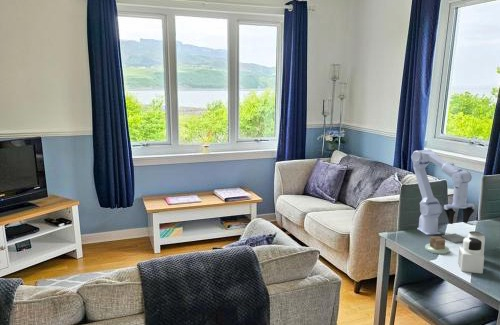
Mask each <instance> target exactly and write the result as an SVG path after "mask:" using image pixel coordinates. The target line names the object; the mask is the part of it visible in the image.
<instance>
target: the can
mask: <svg viewBox="0 0 500 325" xmlns="http://www.w3.org/2000/svg"><path fill="white" fill-rule="evenodd" d="M469 237H471V238H476V239H478V240H480V241H481V242H482V245H481V252H482V254H483V255H484V253H485V243H486V237H485V233H483V232H480V231H476V230H475V231H474V230H472V231H469V232H468V235H467V238H469ZM484 256H485V255H484Z"/></svg>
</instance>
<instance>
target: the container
mask: <svg viewBox="0 0 500 325" xmlns="http://www.w3.org/2000/svg"><path fill="white" fill-rule="evenodd" d="M481 245H482V242H481V241H480V240H478V239H476V238H471V237H469V238H468V237H465V239H463V242H462V246H459V249H458V260H457V264H458V266H459V268H460V271H462V272H464V273H465V272H466V273H474V274H479V275H480V274H483V273H484V263H485V255H483V254H482V252H481Z"/></svg>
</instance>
